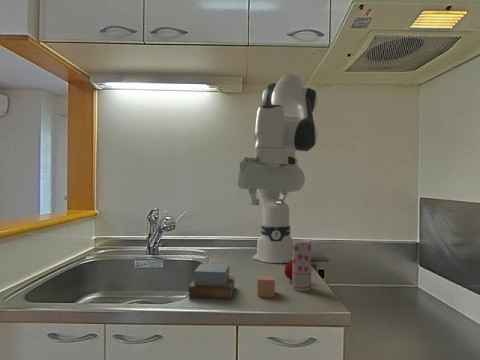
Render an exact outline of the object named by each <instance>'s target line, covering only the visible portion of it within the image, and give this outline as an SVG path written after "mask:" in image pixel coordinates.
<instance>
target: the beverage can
mask: <svg viewBox="0 0 480 360" xmlns="http://www.w3.org/2000/svg"><path fill="white" fill-rule="evenodd" d="M293 240H294V241H293V273H292V281H291V283H292V285H291V287H292V289H293V290H294V291H298V292H309V291H310V290H311V289H312V275H311V274H312V243H311V240H308V239H304V238H303V239H302V238H301V239H293Z"/></svg>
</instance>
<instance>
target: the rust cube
mask: <svg viewBox="0 0 480 360" xmlns="http://www.w3.org/2000/svg"><path fill="white" fill-rule="evenodd" d="M275 286H276V277H275V275H266V274H265V275H263V274H262V275H261V274H260V275H259V274H258V275H257V298H258V297H260V298H262V297H264V298H265V297H266V298H275V296H276V290H275V289H276V287H275Z"/></svg>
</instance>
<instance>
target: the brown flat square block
mask: <svg viewBox="0 0 480 360" xmlns="http://www.w3.org/2000/svg"><path fill="white" fill-rule="evenodd" d="M234 290H235V276H234V275H229V279H228V281H227V283H226V285H225V286H206V285H194V279H193V280H192V281H191V283H190V284H189V286H188V298H189V297H190V298H197V300H199V299H200V300H222V301H223V300H226V301H227V300H230V301H231V300H232V298H233V297H232V296H233V293H234Z"/></svg>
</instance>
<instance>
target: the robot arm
mask: <svg viewBox="0 0 480 360" xmlns="http://www.w3.org/2000/svg"><path fill="white" fill-rule="evenodd" d="M262 92H263V93H262V96H261V99H262V104H261V105H260V106H259V107H258V109H257V111H256V119H255V131H254V132H255V134H254V136H255V146H254V156H253V157H249V156H245V157H244V158H242V159H241V160H240V163H239V173H238V179H237V186H238V188H239V189H240V190H248V195H249V197H250V198H251V205H252V206H259V205H261V214H262V217H261V219H262V221H261V222H262V224H261V228H260V230H261V231H260V233H261V235H260V236H259V238H258V239H257V241H256V251H257V252H256V253H255V254H254V255H253V256H252V260H256V261H259V262H263V263H269V264H271V263H272V264H284V263H285V264H287V263H288V262H289V261H290V260H292V258H293V241H294V240H295V239H293V238H292V237H291V231H292V230H291V226H290V206H289V205H288V203H287V202H285V199H286V198H287V196H288V193H293V192H298V191H300V190H302V188H303V187H304V184H305V181H306V180H305V179H306V178H305V173H304V171H303V169H302V168H301V167H300V166H299V165H298V158H297V157H296V151H299V152H309V151H310V150H312V149H313V148H314V147H315V146H316V144H317V140H318V130H317V127H316V124H315V122H314V121H315V120H314V115H313V112H314V110H316V107H317V104H318V96H317V92H316V90H315V89H313V88H311V87H304V86H303V82H302V80H301V78H300V77H299V76H297V75H296V74H293V73H287V74H285V75H282V76H281V78H279V80H278V81H277V82H276V83H275V82H274V83H270V84H268V85H266V86H265V88H264V90H263V91H262ZM256 194H258V195H256ZM257 196H258V197H259V198H257ZM260 203H261V204H260Z"/></svg>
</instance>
